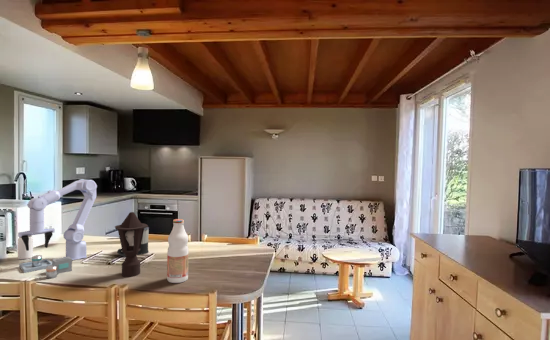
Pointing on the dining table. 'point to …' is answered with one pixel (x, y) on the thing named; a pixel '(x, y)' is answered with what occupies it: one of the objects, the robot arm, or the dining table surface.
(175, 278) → the fruit juice
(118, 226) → the lantern
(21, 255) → the can
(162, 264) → the dining table surface
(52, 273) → the terracotta cartridge
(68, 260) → the wall unit
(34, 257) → the teal cartridge
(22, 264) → the tray
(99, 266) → the dining table surface
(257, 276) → the dining table surface
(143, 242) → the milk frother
